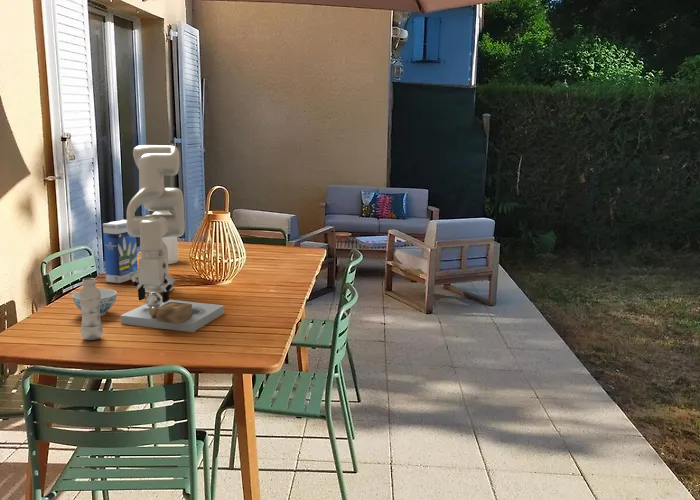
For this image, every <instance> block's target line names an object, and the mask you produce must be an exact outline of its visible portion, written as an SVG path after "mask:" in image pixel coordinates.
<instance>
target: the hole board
mask: <svg viewBox="0 0 700 500" xmlns="http://www.w3.org/2000/svg"><path fill="white" fill-rule="evenodd" d="M168 302H178V303H187V304H192V317H190V318H189V319H187V320H185V321H183V322H182V323H180V324H176V323H168V322H159V321H157V320H156V317H152V316H150V314H149V309H150V307H148V306H147V305H146V303H145V304H142V305H140V306H138V307H135V308H133V309H132V310H129V311H127V312H125V313H122V314H121V315H120V324H121V325H128V326H129V325H130V326H135V327H136V326H137V327H143V328H144V327H146V328H155V329H163V330H170V331H171V330H172V331H178V332H179V331H180V332H188V333H194V332H196V331H197V330H200V329H201V328H202V327H204V326H206V325H207V324H209V323H211V322H212V321H214V320H216V319H217V318H219V317H220V316H222V315H224V314H225V305H222V304H215V303H204V302H195V301H184V300H176V299H175V300H174V299H169V301H167V302H165V303H163V302H162V304H161V305H160V306H162V305H164V304H166V303H168ZM160 306H159V307H160Z"/></svg>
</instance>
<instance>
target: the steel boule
mask: <svg viewBox="0 0 700 500" xmlns="http://www.w3.org/2000/svg"><path fill="white" fill-rule="evenodd" d="M144 300H145V301H144V302H145V304H146V305H147V306H148V307H150V308H151V307H153V306H157V307H159V306H160V305H161V304H162V294H161V293H157V292H151V293H147V295H145V299H144Z"/></svg>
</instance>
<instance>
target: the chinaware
mask: <svg viewBox="0 0 700 500" xmlns="http://www.w3.org/2000/svg"><path fill="white" fill-rule="evenodd" d="M97 289H98V290H99V291H100V293H101V301H100V317H102V316H105V315H106V314H107V311H109V310H110V309H111V308H112V307H113V305H114V304H115V303H116V300H117V297H118V295H117V294H118V292H117V291H116V290H115V289H111V288H97ZM80 292H81V290H80V291H76V292H74V293H73V294H71V295H72V301H73V303H74V304H75V306H76V307H77V308H78V310H79V311H81V305H80V299H79V294H80Z"/></svg>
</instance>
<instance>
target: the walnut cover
mask: <svg viewBox="0 0 700 500" xmlns="http://www.w3.org/2000/svg"><path fill="white" fill-rule="evenodd" d="M190 317H192V304H187V303H178V302H168V303H166V304H164V305H162V306H160V307H158V308H156V320H157V321H159V322H168V323H176V324H180V323H182V322H183V321H185V320H187V319H189V318H190Z"/></svg>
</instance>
